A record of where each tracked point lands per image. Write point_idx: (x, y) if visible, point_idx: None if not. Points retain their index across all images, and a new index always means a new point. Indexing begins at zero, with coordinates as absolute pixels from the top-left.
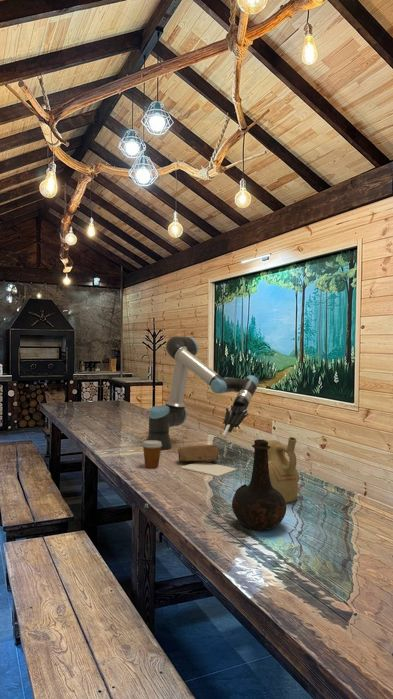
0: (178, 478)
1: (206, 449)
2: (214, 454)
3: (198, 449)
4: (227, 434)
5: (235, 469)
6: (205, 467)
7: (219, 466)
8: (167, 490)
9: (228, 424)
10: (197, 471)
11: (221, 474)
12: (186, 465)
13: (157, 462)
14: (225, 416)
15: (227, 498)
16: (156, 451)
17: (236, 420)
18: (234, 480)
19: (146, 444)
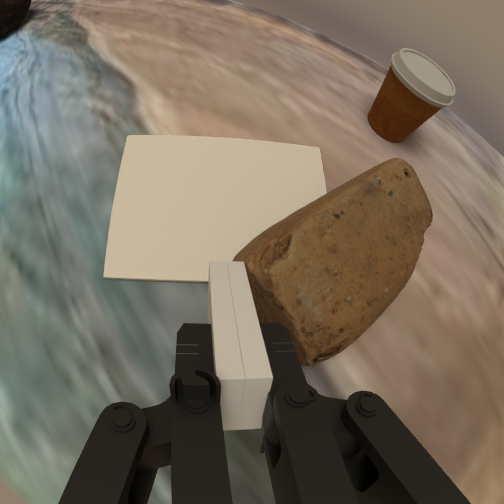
0: (235, 70)
1: (298, 214)
2: (246, 247)
3: (333, 193)
4: (209, 319)
5: (105, 259)
6: (240, 198)
7: (197, 255)
8: (195, 17)
9: (270, 407)
10: (231, 139)
11: (124, 154)
12: (321, 178)
13: (375, 110)
14: (452, 493)
15: (54, 49)
16: (387, 74)
17: (116, 490)
18: (64, 145)
19: (413, 52)
